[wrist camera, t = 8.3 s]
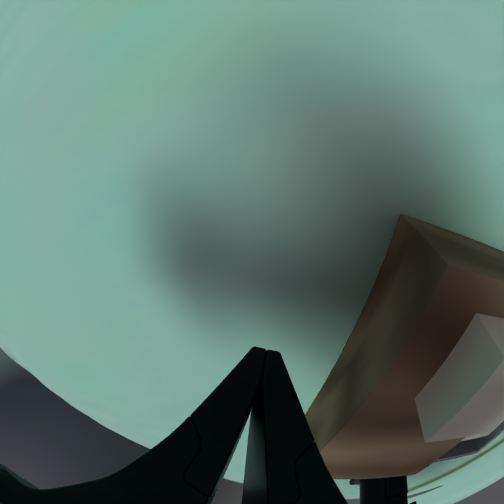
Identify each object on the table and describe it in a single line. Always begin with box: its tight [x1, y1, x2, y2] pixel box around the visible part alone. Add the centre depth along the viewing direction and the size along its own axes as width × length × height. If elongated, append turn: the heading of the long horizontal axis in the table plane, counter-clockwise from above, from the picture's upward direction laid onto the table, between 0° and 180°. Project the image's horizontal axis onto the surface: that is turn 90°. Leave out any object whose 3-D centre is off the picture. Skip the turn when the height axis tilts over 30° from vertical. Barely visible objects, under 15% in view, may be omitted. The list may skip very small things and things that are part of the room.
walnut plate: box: [305, 215, 504, 479], centre depth 13 cm, size 18×11×5 cm, turn 171°
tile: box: [414, 313, 504, 443], centre depth 7 cm, size 5×5×2 cm
